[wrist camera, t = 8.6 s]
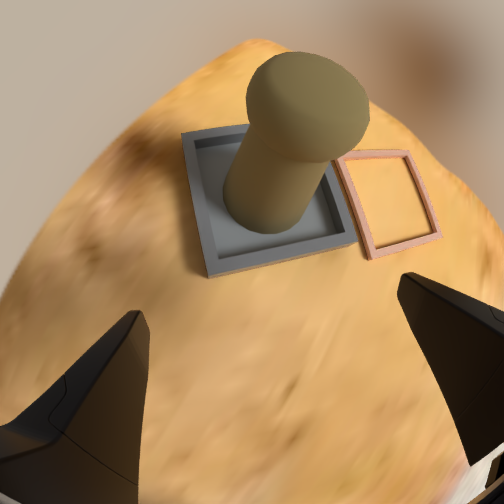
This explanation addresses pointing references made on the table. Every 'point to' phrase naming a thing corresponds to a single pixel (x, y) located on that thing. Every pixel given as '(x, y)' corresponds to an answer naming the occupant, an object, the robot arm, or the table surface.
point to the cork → (292, 138)
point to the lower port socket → (241, 239)
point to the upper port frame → (358, 209)
